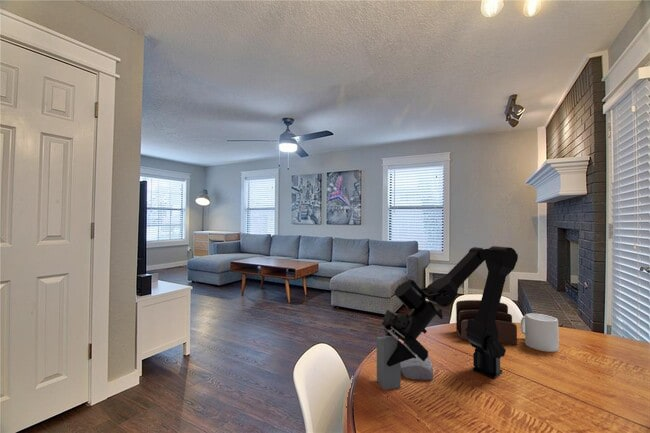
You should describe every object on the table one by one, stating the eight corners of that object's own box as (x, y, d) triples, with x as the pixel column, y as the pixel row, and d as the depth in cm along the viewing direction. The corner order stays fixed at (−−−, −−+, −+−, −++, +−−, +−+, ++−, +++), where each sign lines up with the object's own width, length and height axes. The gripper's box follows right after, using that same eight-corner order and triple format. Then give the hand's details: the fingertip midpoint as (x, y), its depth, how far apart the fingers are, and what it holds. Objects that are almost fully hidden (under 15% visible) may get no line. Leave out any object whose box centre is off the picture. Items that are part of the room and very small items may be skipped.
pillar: (392, 378, 86) (392, 335, 86) (400, 387, 81) (400, 342, 81) (376, 380, 85) (376, 337, 85) (383, 389, 80) (383, 343, 80)
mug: (511, 338, 116) (510, 311, 116) (532, 336, 118) (531, 310, 119) (543, 353, 103) (542, 322, 103) (566, 350, 105) (565, 320, 105)
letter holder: (456, 331, 124) (455, 298, 125) (507, 335, 120) (507, 301, 120) (461, 340, 115) (460, 304, 115) (517, 345, 110) (517, 307, 110)
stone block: (402, 384, 86) (436, 381, 84) (398, 368, 86) (433, 364, 85) (399, 367, 97) (429, 363, 96) (396, 352, 98) (426, 348, 96)
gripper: (387, 293, 93) (354, 330, 91) (417, 310, 75) (377, 357, 72) (409, 316, 95) (378, 353, 92) (444, 338, 77) (406, 385, 74)
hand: (383, 360), depth 83 cm, fingers closed on pillar, 5 cm apart
